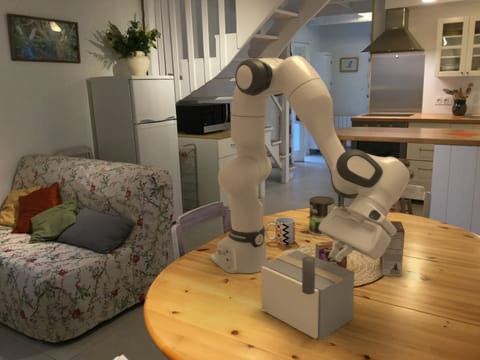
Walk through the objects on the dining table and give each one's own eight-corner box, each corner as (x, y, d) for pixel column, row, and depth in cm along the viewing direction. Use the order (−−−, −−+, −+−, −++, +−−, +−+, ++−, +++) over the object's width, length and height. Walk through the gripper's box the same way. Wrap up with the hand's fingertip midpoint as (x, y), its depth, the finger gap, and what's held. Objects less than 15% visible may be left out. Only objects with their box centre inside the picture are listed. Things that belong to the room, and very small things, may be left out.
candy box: (342, 285, 133) (343, 239, 130) (346, 291, 129) (348, 245, 125) (314, 287, 132) (315, 241, 129) (318, 294, 128) (319, 247, 125)
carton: (263, 309, 120) (262, 263, 117) (296, 292, 129) (296, 249, 126) (321, 341, 106) (322, 289, 102) (353, 319, 115) (355, 271, 111)
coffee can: (315, 237, 173) (316, 204, 169) (304, 228, 182) (305, 197, 179) (338, 233, 176) (339, 201, 172) (326, 225, 185) (326, 195, 182)
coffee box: (378, 263, 147) (381, 220, 143) (398, 264, 146) (400, 221, 142) (381, 275, 139) (384, 229, 135) (402, 277, 137) (405, 230, 133)
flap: (256, 312, 118) (255, 241, 112) (264, 308, 119) (263, 238, 114) (310, 342, 104) (311, 263, 99) (317, 337, 106) (319, 259, 101)
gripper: (332, 197, 114) (302, 238, 112) (389, 218, 96) (355, 268, 94) (344, 210, 117) (315, 251, 115) (402, 233, 99) (369, 281, 97)
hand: (333, 258), depth 105 cm, fingers closed
